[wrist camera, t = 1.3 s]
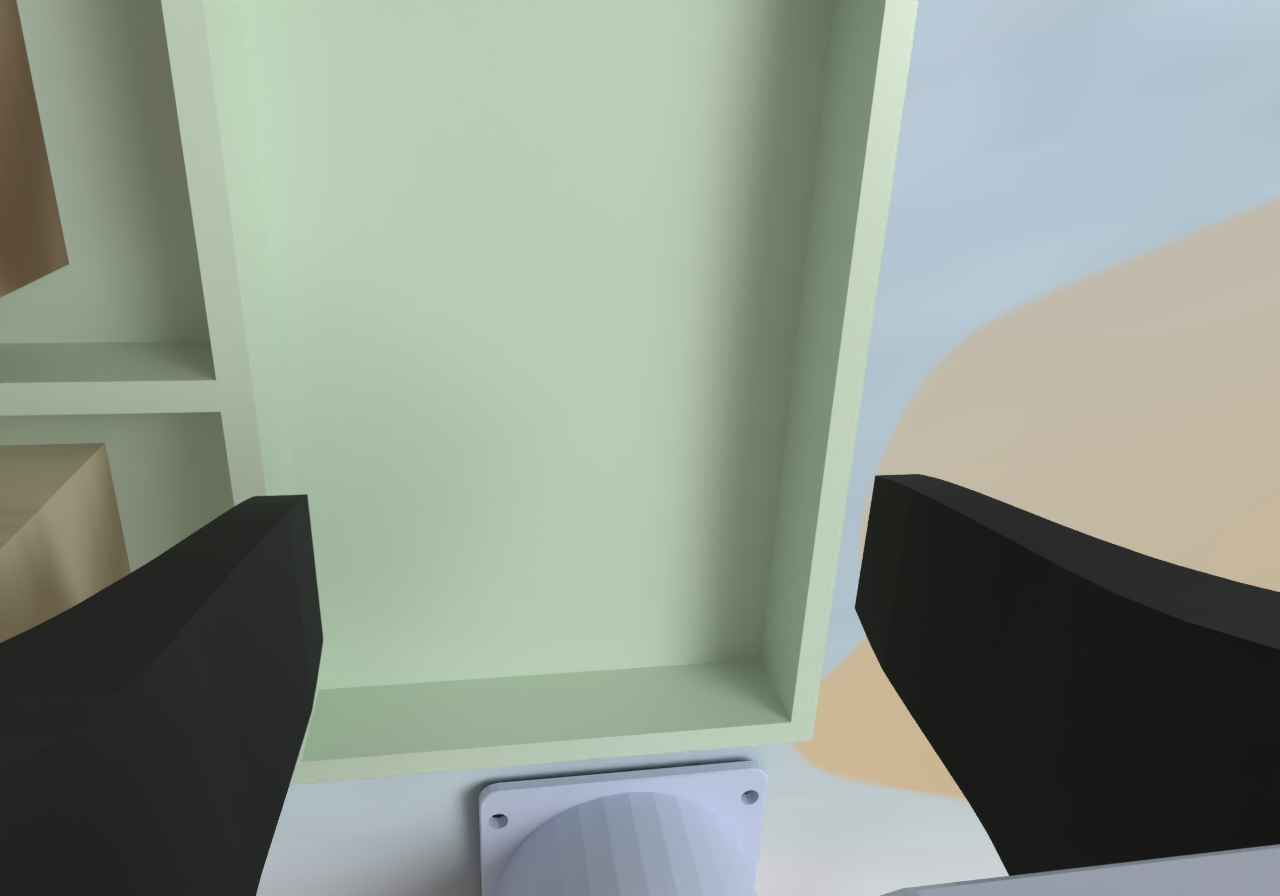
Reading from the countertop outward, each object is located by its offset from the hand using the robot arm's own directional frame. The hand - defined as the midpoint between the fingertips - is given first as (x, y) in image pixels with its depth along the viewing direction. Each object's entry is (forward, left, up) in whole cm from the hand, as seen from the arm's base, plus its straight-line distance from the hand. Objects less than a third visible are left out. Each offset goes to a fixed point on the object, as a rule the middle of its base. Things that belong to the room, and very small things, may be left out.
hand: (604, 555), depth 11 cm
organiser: (0, +6, -9) cm, 11 cm away
